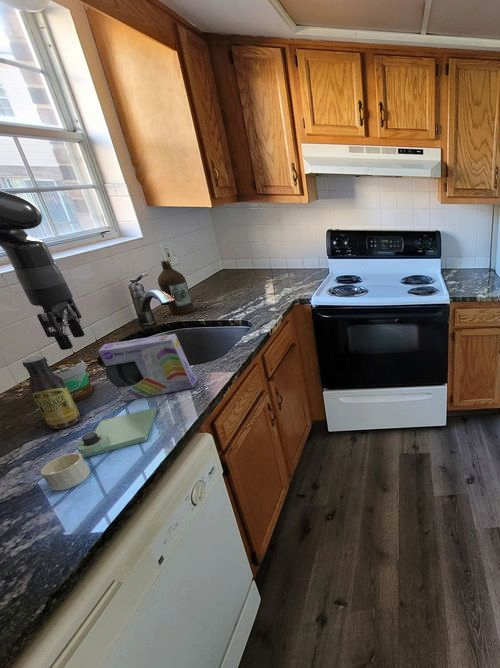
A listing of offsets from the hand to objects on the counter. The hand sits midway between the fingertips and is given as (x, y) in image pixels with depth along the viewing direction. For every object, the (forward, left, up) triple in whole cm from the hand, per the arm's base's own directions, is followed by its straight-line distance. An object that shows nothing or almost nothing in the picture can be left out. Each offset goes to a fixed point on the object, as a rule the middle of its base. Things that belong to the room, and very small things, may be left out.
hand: (73, 342), depth 97 cm
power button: (+3, -22, -18) cm, 29 cm away
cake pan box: (+12, +3, -21) cm, 25 cm away
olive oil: (+9, +85, -21) cm, 88 cm away
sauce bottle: (-8, -3, -21) cm, 23 cm away
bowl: (+1, -31, -21) cm, 38 cm away
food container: (-10, +12, -21) cm, 26 cm away
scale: (+7, -16, -21) cm, 28 cm away
